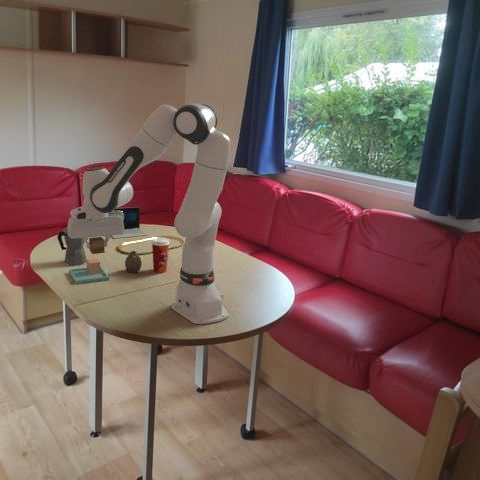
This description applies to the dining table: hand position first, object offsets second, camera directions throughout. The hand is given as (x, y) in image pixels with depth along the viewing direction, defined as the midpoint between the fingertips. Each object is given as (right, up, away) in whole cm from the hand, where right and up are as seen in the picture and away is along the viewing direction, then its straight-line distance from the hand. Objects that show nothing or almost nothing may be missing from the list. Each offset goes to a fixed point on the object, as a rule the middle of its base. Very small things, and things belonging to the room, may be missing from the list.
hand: (96, 247), depth 181 cm
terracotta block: (-7, -11, +19) cm, 23 cm away
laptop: (-6, +6, +75) cm, 76 cm away
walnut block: (0, -2, +1) cm, 2 cm away
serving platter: (+10, -1, +59) cm, 60 cm away
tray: (-8, -12, +16) cm, 22 cm away
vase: (+8, -11, +25) cm, 29 cm away
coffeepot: (-19, -8, +30) cm, 36 cm away
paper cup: (+19, -11, +28) cm, 36 cm away
